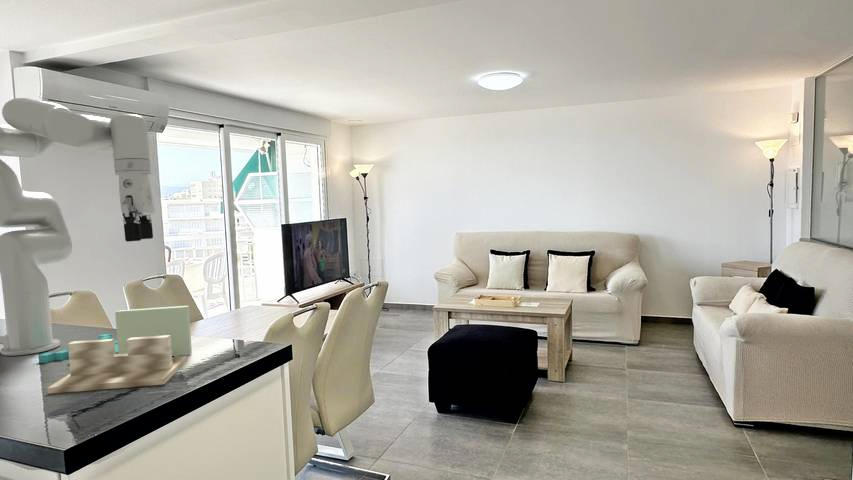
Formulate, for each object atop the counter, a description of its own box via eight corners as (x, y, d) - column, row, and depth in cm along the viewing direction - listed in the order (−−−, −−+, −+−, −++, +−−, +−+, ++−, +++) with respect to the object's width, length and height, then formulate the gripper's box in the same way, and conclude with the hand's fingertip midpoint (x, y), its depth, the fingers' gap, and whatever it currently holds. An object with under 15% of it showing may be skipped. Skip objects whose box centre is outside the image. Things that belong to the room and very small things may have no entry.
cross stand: (47, 393, 105) (44, 353, 104) (86, 368, 121) (83, 333, 120) (164, 384, 109) (161, 345, 108) (186, 361, 124) (184, 327, 124)
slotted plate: (118, 361, 126) (115, 311, 125) (121, 358, 128) (118, 310, 127) (189, 355, 129) (186, 307, 128) (191, 352, 131) (188, 305, 130)
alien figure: (39, 364, 127) (109, 367, 123) (38, 355, 127) (109, 358, 123) (105, 341, 147) (168, 343, 142) (104, 334, 146) (167, 335, 142)
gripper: (138, 164, 117) (146, 240, 118) (159, 170, 134) (166, 237, 135) (101, 165, 115) (109, 243, 116) (127, 171, 132) (134, 239, 133)
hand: (139, 239), depth 125 cm, fingers open, 9 cm apart
